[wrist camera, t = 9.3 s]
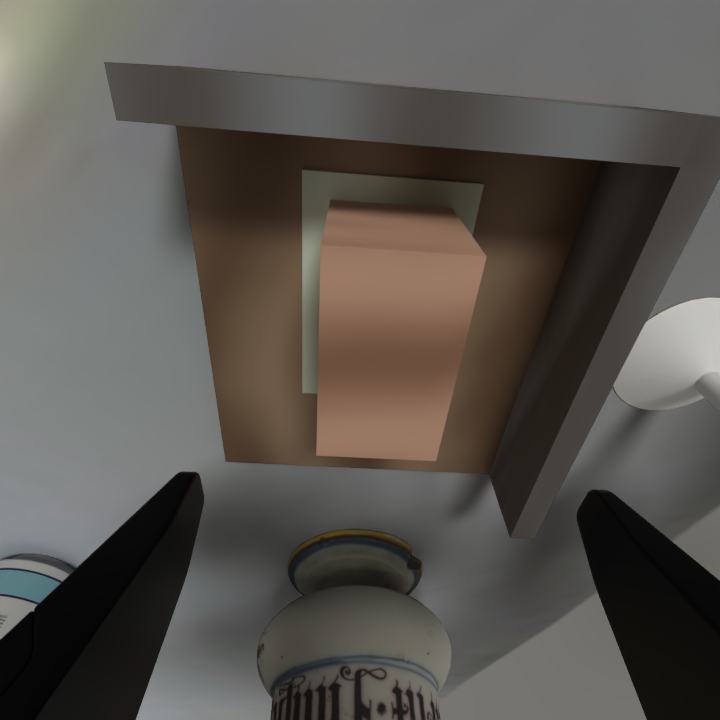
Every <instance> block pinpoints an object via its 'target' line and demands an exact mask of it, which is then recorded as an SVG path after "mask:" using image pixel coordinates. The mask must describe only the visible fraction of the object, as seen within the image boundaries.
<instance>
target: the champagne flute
mask: <svg viewBox="0 0 720 720" xmlns="http://www.w3.org/2000/svg"><path fill="white" fill-rule="evenodd" d="M613 387H614V389H615V392H616V393H617V395H618V396H619V397H620V398H621V399H622V400H623V401H625V402H626V403H627V404H629V405H631V406H634V407H637V408H640V409H646V410H666V409H673V408H677V407H681V406H685V405H688V404H691V403H693V402H696V401H698V400H701V399H703V398H706V399H707V400H708V401H709V402H710V403H711V404H712V405H713V406H714V407H715V408H717V409H718V410H719V411H720V298H703V299H697V300H691V301H688V302H685V303H682V304H678V305H676V306H673V307H671V308H669V309H667V310H665V311H663V312H661V313H659V314H658V315H656V316H654V317H653V318H651V319H650V320H648V321H647V322H646V323H645V325H644V326H643V328H642V330H641V332H640V334H639V336H638V338H637V340H636V342H635V344H634V346H633V348H632V350H631V352H630V354H629V356H628V358H627V359H626V361H625V363H624V365H623V367H622V369H621V371H620V373H619V375H618V377H617V379H616V381H615V383H614V385H613Z"/></svg>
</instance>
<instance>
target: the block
mask: <svg viewBox="0 0 720 720" xmlns="http://www.w3.org/2000/svg"><path fill="white" fill-rule="evenodd" d="M486 258H487V256H486V255H485V253H484V252H483V251H482V249H481V248H480V246H479V245H478V244H477V242H476V241H475V239H474V238H473V237H472V235H471V234H470V232H469V231H468V230H467V228H466V227H465V225H464V224H463V223H462V221H461V220H460V219H459V217H458V216H457V214H456V213H455V212H454V210H453V209H452V208H439V207H426V206H412V205H399V204H385V203H371V202H358V201H344V200H331V199H330V204H329V208H328V213H327V218H326V222H325V227H324V232H323V236H322V241H321V251H320V300H319V349H318V397H317V446H316V456H335V457H357V458H378V459H400V460H422V461H436V459H437V455H438V451H439V447H440V443H441V439H442V435H443V431H444V427H445V423H446V419H447V415H448V411H449V407H450V403H451V399H452V395H453V391H454V386H455V382H456V378H457V374H458V370H459V366H460V362H461V358H462V354H463V350H464V346H465V342H466V338H467V334H468V330H469V326H470V322H471V318H472V314H473V310H474V306H475V302H476V298H477V294H478V290H479V286H480V282H481V278H482V274H483V270H484V266H485V262H486Z"/></svg>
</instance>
